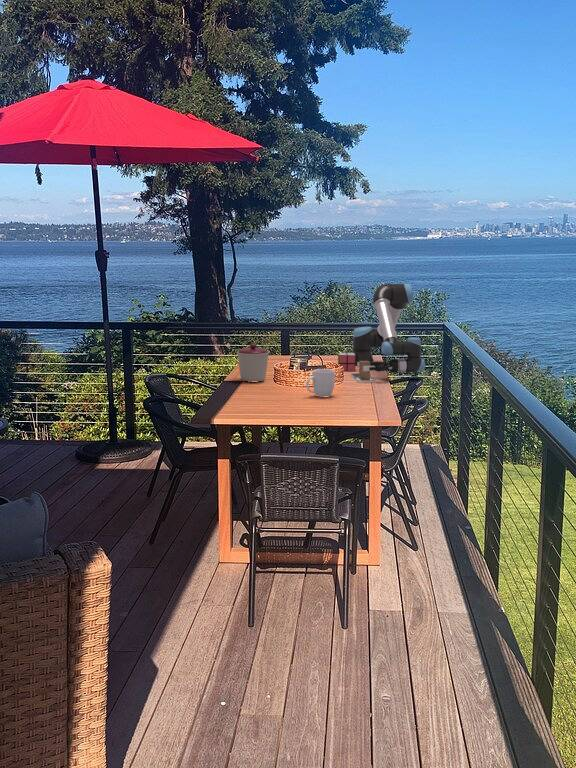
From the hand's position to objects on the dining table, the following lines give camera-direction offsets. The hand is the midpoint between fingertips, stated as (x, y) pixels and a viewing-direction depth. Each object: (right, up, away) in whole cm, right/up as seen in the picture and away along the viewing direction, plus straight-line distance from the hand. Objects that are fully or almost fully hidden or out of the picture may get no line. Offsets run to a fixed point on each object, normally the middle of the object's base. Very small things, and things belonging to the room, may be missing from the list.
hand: (360, 366), depth 445 cm
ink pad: (+1, -6, +12) cm, 14 cm away
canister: (-60, -8, -3) cm, 60 cm away
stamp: (+2, -7, +2) cm, 8 cm away
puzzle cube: (-5, -2, +35) cm, 36 cm away
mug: (-23, -16, -44) cm, 53 cm away
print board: (+2, -8, +2) cm, 8 cm away
